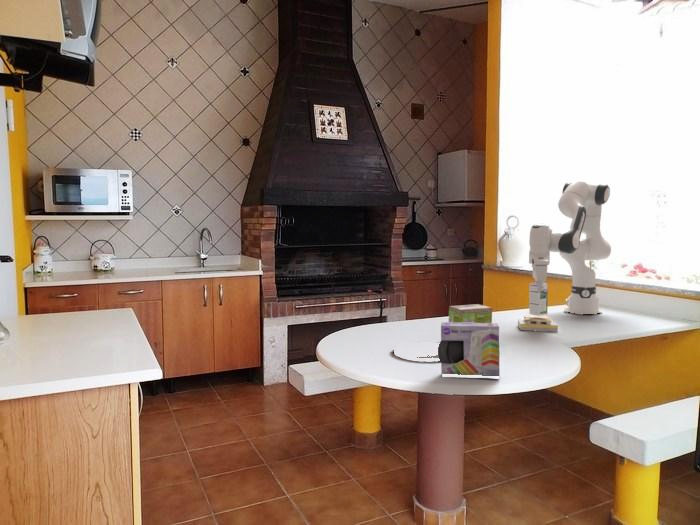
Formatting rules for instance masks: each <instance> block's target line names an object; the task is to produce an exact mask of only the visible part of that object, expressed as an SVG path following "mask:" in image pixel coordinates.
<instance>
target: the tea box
mask: <svg viewBox="0 0 700 525" xmlns="http://www.w3.org/2000/svg"><path fill="white" fill-rule="evenodd" d="M448 322H458V323H462V322H472V323H493V307H490V306H486V305H483V304H479V303H477V304H475V303H474V304H463V305H461V304H460V305H450V306H448Z"/></svg>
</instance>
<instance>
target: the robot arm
mask: <svg viewBox="0 0 700 525" xmlns="http://www.w3.org/2000/svg"><path fill="white" fill-rule="evenodd" d="M610 196H611V189H610V187H609V185H608V184H606V183H604V182H603V183H602V182H597V181H596V182H595V181H592V180H590V181H589V180H587V181H586V180H584V179H574V180H569V181H567V182H566V183H565V184H564V185H563V188H562V194H561V196H560V197H559V200H558V204H557V206H558V210H559V212H561V214H562V215H564V216H565V217H566V218H570V219H571V223H570V226H569V228H568V229H567V230H562V231H561V230H552V229H551V228H550V225H549V224H548V223H536V224H533V225H532V226H531V228H530V231H529V241H528V243H529V244H528V245H529V251H528V252H529V253H528V263H529V264H531V268H532V274H531V275H532V278H533V279H534V283H537V282H538V291H542V286H543V283H546V280H547V278H548V277H547V275H548V266H549V265H550V256H551V254H550V252H553V253H559V256H561V258H562V259H563V260H565V261H566V262H567V263H568V264H569V265H568V266H570V270H571V274H572V275H571V276H572V282H571V283H572V285H571V286H570V287H571V288H570V290H571V291H570V295H569V296H568V298H565V303H566V306H564V309H563V312H564V313H568V312H570V313H569V314H574V313H575V315H583V314H594V315H598V314H597V313H600V314H603V311H602V310H600V299H599V297H598V295H596V293H597V286H596V276H597V273H596V271H595V270H594V269H593V268H591V267H589V266H587V265H586V262H585V261H600V260H605V259H608V257H610V255H611V253H612V246H611V244H610V242H609V241H607V240H606V239H605V237H603V235H602V233H601V220H602V219H601V218H602V210H603V209H602V208H603V207H602V205H604V204H606V203H607V202H608V200H609V199H610ZM582 234H584V235H585V239H581V235H582Z"/></svg>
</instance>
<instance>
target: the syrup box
mask: <svg viewBox="0 0 700 525" xmlns="http://www.w3.org/2000/svg"><path fill="white" fill-rule="evenodd" d="M528 284H529V286H528V287H529V289H528V290H529V293H528V294H529V297H528V298H529V299H528V300H529V301H528V302H529V304H528V305H529V306H528V307H529V308H528V311H529V312H528V313H529V314H530V315H532V316H545V315H548V292H549V291H548V282H543V286H542V291H538V282H537V283H535V282H530V283H528Z"/></svg>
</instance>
